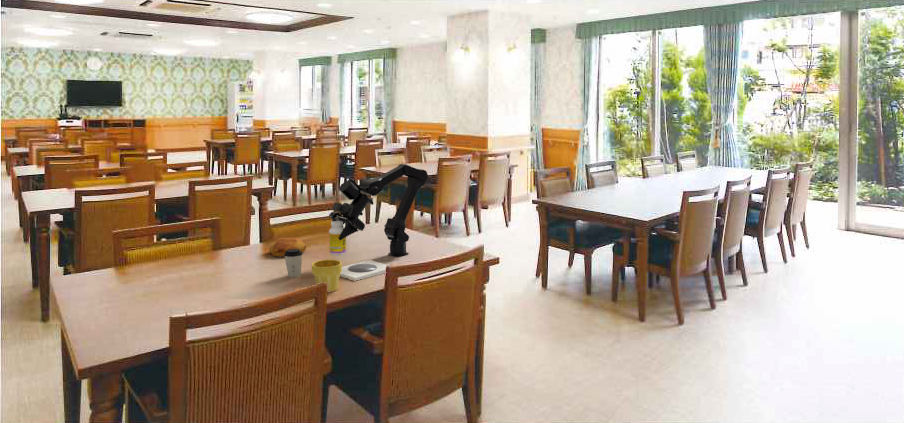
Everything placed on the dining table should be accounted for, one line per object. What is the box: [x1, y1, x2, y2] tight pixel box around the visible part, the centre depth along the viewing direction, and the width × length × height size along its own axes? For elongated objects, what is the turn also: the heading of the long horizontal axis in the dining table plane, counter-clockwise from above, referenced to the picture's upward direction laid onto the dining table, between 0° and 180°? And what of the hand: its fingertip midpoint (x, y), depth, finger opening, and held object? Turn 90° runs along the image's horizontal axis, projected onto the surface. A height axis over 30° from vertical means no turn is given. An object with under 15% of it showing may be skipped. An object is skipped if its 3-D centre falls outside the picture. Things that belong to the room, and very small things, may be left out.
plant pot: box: [311, 259, 343, 292], centre depth 221 cm, size 10×10×10 cm
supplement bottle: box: [328, 221, 347, 257], centre depth 249 cm, size 7×7×13 cm
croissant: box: [269, 237, 307, 257], centre depth 273 cm, size 14×16×8 cm
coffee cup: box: [284, 249, 304, 279], centre depth 239 cm, size 7×7×10 cm
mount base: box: [340, 259, 388, 282], centre depth 245 cm, size 20×16×2 cm
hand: (334, 238), depth 248 cm, fingers closed on supplement bottle, 7 cm apart
